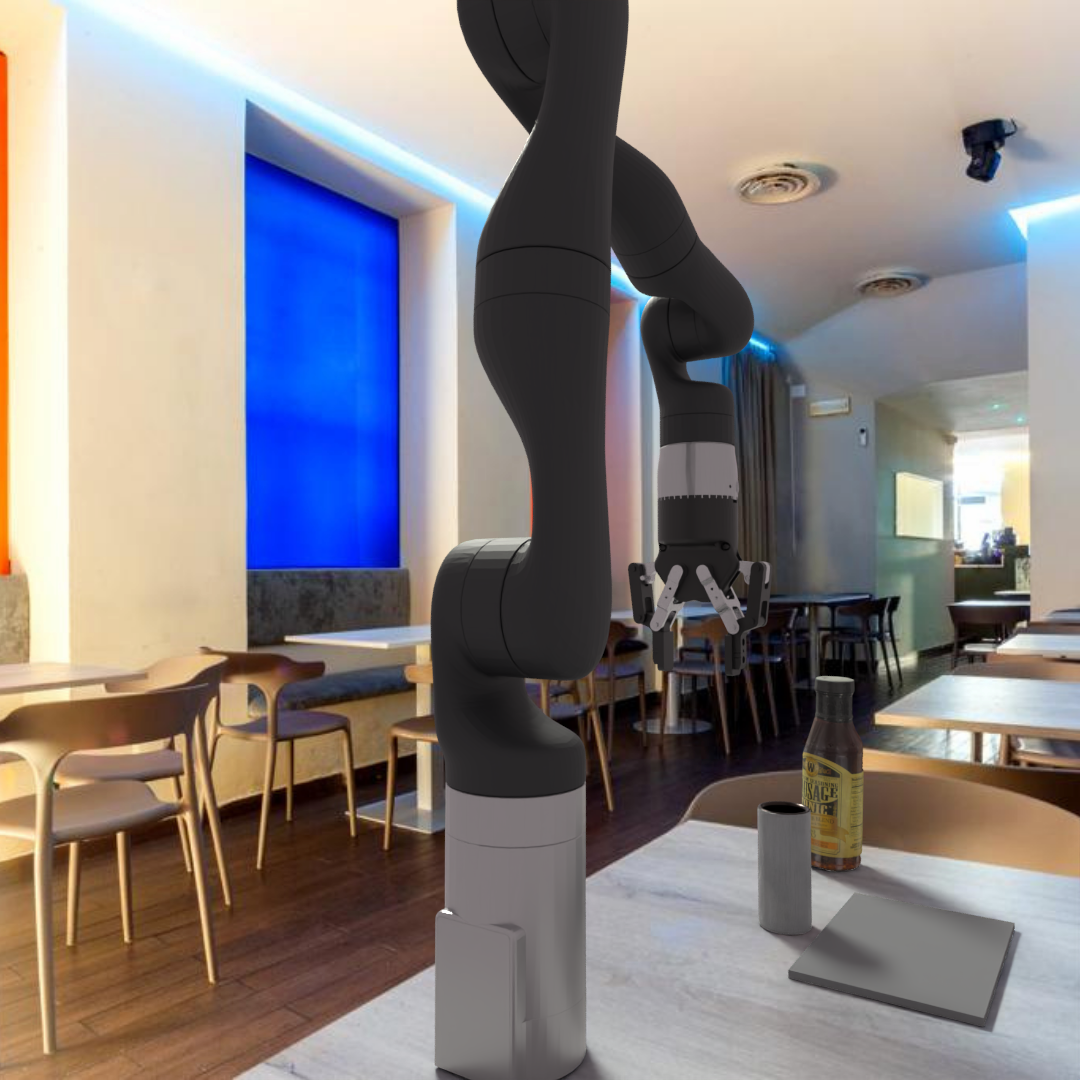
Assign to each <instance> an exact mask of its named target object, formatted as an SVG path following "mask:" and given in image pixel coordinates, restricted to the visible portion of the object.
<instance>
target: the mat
mask: <svg viewBox="0 0 1080 1080" xmlns="http://www.w3.org/2000/svg"><path fill="white" fill-rule="evenodd" d="M1014 929H1015V922H1013V921H1007V920H1002V919H996V918H991V917H986V916H980V915H975V914H970V913H964V912H960V911H954V910H949V909H944V908H940V907H939V908H938V907H934V906H929V905H923V904H918V903H912V902H907V901H903V900H896V899H892V898H891V899H890V898H887V897H880V896H875V895H870V894H865V893H860V892H854V893H852V895H851V896H850V897H849V898H848V900H847V901H846V902H845V903H844V904H843V905H842V907H840V909H838V911H837V913H835V915H834V916H833V917H832V918H831V919H830V921H828V923H827V924H826V925H825V926H824V928H822V930H821V931H820V933H818V934H817V936H816V937H814V939H813V940H812V941H811V943H810V944H809V945H808V946H807V947H806V949H805V950H804V951H803V952H802V953H801V954H800V956H799V957H798V958H796V960H795V961H794V963H792V965H791V966H790V967H789V968H788V969H787V973H788V975H787V977H788V978H789V979H791V980H794V981H795V980H796V981H800V982H803V983H807V984H811V985H815V986H820V987H823V988H828V989H830V990H831V989H832V990H835V991H838V992H842V993H847V994H851V995H856V996H859V997H863V998H867V999H870V1000H875V1001H879V1002H883V1003H886V1004H892V1005H895V1006H899V1007H903V1008H906V1009H911V1010H915V1011H919V1012H923V1013H926V1014H929V1015H930V1014H931V1015H934V1016H939V1017H943V1018H947V1019H951V1020H955V1021H959V1022H962V1023H965V1024H966V1023H967V1024H970V1025H975V1026H978V1027H982V1028H984V1027H985V1025H986V1022H987V1019H988V1015H989V1013H990V1009H991V1006H992V1003H993V999H994V998H995V997H994V996H995V993H996V989H997V986H998V984H999V981H1000V977H1001V974H1002V971H1003V968H1004V965H1005V961H1006V959H1007V956H1008V952H1009V949H1010V947H1011V943H1012V940H1013V937H1012V935H1013V936H1014V933H1015V930H1014ZM1013 932H1014V933H1013ZM1011 939H1012V940H1011ZM1010 942H1011V943H1010Z"/></svg>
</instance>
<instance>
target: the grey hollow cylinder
mask: <svg viewBox="0 0 1080 1080" xmlns="http://www.w3.org/2000/svg"><path fill="white" fill-rule="evenodd" d="M757 879H758V881H757V885H758V886H757V887H758V889H757V891H758V895H757V897H758V898H757V899H758V906H757V907H758V908H757V909H758V910H757V911H758V915H757V916H758V923H759V925H760V927H762V928H763V929H765V930H766V931H769V932H771V933H775V934H780V935H786V936H792V935H793V936H798V935H803V934H806V933H809V932H810V931H811V930H812V928H813V927H812V923H813V921H812V920H813V914H812V913H813V912H812V911H813V907H812V901H813V900H812V897H813V896H812V893H813V892H812V866H811V810H810V808H809V807H807V806H805V805H802V803H800V802H799V803H797V802H794V801H783V800H769V801H764V802H761V803H759V804H758V806H757Z"/></svg>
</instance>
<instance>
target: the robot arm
mask: <svg viewBox="0 0 1080 1080" xmlns="http://www.w3.org/2000/svg"><path fill="white" fill-rule="evenodd" d="M629 3H630V2H629V0H456V12H457V17H458V23H459V27H460V31H461V34H462V36H463V39H464V42H465V44H466V47H467V49H468V51H469V52H470V55H471V57H472V59H473V60H474V62H475V64H476V66H477V68H478V70H479V71H481V74H482V75H483V77H484V78H485V79H486V80H487V82H488V84H489V86H490V87H491V89H492V90H493V91H494V92H495V93H496V95H497V96H498V97H499V99H500V100H501V101H502V102H503V104H504V105H505V106H506V108H507V109H508V110H509V111H510V113H512V115H513V116H514V117H515V119H517V120H516V121H518V122H519V123H520V125H521V126H522V127H523V128H524V130H525V131H526V133H527V134H528V135H529V136H528V138H527V139H526V142H525V145H524V146H523V147H522V150H521V152H520V154H519V156H518V158H517V160H516V161H515V163H514V164H513V167H512V168H511V170H510V171H509V173H508V176H507V177H506V179H505V181H504V183H503V184H502V186H501V188H500V190H499V192H498V195H497V197H496V198H495V200H494V202H493V204H492V206H491V208H490V211H489V213H488V214H487V215H488V216H487V218H486V221H485V223H484V225H483V227H482V231H481V233H480V236H479V239H478V243H477V244H478V245H477V249H476V258H475V259H476V260H475V276H474V299H473V314H472V315H473V323H472V325H473V340H474V341H473V342H474V345H475V350H476V353H477V355H478V358H479V361H480V363H481V366H482V368H483V370H484V372H485V374H486V376H487V379H488V380H489V382H490V385H491V386H492V388H493V390H494V392H495V393H496V396H497V397H498V399H499V401H500V403H501V404H502V406H503V408H504V410H505V411H506V413H507V415H508V416H509V418H510V420H511V422H512V424H513V426H514V428H515V429H516V432H517V434H518V436H519V438H520V441H521V443H522V445H523V448H524V451H525V455H526V457H527V463H528V466H529V468H528V469H529V473H530V484H531V495H532V496H531V497H532V498H531V499H532V520H531V521H532V525H531V536H527V537H526V536H524V537H523V536H522V537H521V536H519V537H494V538H493V537H492V538H491V537H489V538H476V539H470V540H466V541H463V542H461V543H459V544H458V545H456V546H454V547H453V548H451V550H450V551H449V552H448V553H447V554H446V556H445V557H444V559H443V560H442V562H441V564H440V566H439V568H438V571H437V574H436V576H435V581H434V585H433V588H432V594H431V595H432V596H431V603H430V649H431V650H430V653H431V670H432V687H433V690H432V692H433V714H434V718H433V719H434V727H435V735H436V738H437V742H438V745H439V748H440V750H441V752H442V757H443V759H444V764H445V765H444V769H445V770H444V771H445V774H444V775H445V776H444V777H445V817H444V818H445V821H444V822H445V823H444V824H445V827H444V828H445V829H444V830H445V831H444V836H445V837H444V840H445V841H444V908H442V909H441V910H439V911H437V913H436V915H435V919H434V920H435V924H434V925H435V927H434V929H435V933H434V937H435V939H434V940H435V941H434V943H435V945H434V947H435V948H434V956H435V957H434V976H435V977H434V1066H435V1067H437V1068H440V1069H443V1070H445V1071H448V1072H449V1073H453V1074H454V1075H458V1076H460V1077H461V1078H465V1079H468V1080H560V1079H561V1078H563V1077H566V1076H567V1075H569V1074H570V1073H572V1072H573V1071H574V1070H575V1069H577V1068H578V1067H579V1066H581V1063H582V1062H583V1061H584V1059H585V1057H586V1052H587V889H586V887H587V886H586V885H587V883H586V882H587V880H586V878H587V875H586V874H587V868H586V867H587V866H586V865H587V862H586V861H587V859H586V857H587V853H586V852H587V850H586V848H587V847H586V844H587V843H586V841H587V839H586V838H587V837H586V836H587V835H586V833H587V832H586V828H587V825H586V823H587V816H586V815H587V814H586V813H587V810H586V806H587V800H586V799H587V797H586V794H587V793H586V792H587V791H586V790H587V789H586V788H587V786H586V785H587V782H586V781H587V756H586V755H587V754H586V753H587V752H586V748H585V745H584V742H583V740H582V739H581V737H580V736H579V735H577V733H575V732H574V731H572V730H571V729H569V728H567V727H565V726H563V725H562V724H560V723H559V722H557V721H555V720H553V719H552V718H551V717H549V716H548V715H547V714H545V712H543V711H542V710H541V709H540V708H539V706H537V705H536V703H535V702H534V700H532V698H531V697H530V696H529V694H528V691H527V688H526V682H525V679H531V680H535V679H536V680H545V681H546V680H548V681H560V682H561V681H563V682H564V681H567V682H568V681H578V680H582V679H584V678H586V677H587V676H588V675H590V674H591V673H592V672H593V671H594V670H595V669H596V667H597V666H598V664H599V662H600V661H601V659H602V657H603V654H604V652H605V649H606V645H607V643H608V640H609V636H610V635H609V633H610V627H611V619H612V611H613V608H612V607H613V605H612V604H613V580H612V578H613V577H612V556H611V555H612V554H611V539H610V523H609V522H610V521H609V517H610V516H609V504H608V503H609V501H608V500H609V499H608V488H607V487H608V484H607V466H606V465H607V464H606V463H607V461H606V413H607V412H606V411H607V410H606V409H607V408H606V407H607V403H606V402H607V399H606V398H607V375H608V374H607V371H608V370H607V369H608V353H609V351H608V350H609V349H608V348H609V338H610V337H609V336H610V325H611V323H610V321H611V295H612V294H611V292H612V291H611V288H612V282H611V281H612V252H613V254H614V255H615V257H616V259H617V261H618V263H619V264H620V266H621V268H622V270H623V271H624V273H625V275H626V277H627V278H628V280H629V281H630V283H631V284H632V287H633V288H635V290H637V291H638V293H641V294H643V295H646V296H648V297H650V298H649V299H648V301H647V302H646V304H645V306H644V308H643V310H642V312H641V313H642V314H641V317H640V327H639V329H640V337H641V341H642V345H643V349H644V351H645V355H646V357H647V361H648V364H649V367H650V371H651V375H652V379H653V384H654V387H655V392H656V397H657V401H658V407H659V408H658V409H659V456H658V457H659V458H658V463H657V464H658V465H657V473H656V474H657V477H656V478H657V543H658V554H657V556H656V558H655V559H654V560H655V561H650V562H631V563H630V564H629V565H628V566H627V573H628V582H629V592H630V598H631V599H630V600H631V608H632V617H633V621H634V622H635V623H636V624H638V625H643V626H645V627H647V628H649V629H650V631H651V633H652V639H651V640H652V643H651V644H652V649H651V650H652V661H653V663H654V665H656V667H657V670H658V671H659V672H661V671H662V672H668V671H672V670H673V669H674V666H675V664H674V663H675V658H674V657H675V655H674V654H675V653H674V652H675V651H674V648H675V647H674V645H675V644H674V639H675V638H674V630H671V629H672V627H673V624H674V623H675V620H676V617H677V616H678V613H679V612H680V611H682V609H683V607H684V605H685V604H686V603H691V602H692V603H693V602H700V603H711V604H712V606H713V609H714V610H715V611H716V613H718V615H719V616H720V618H721V620H722V623H723V624H724V626H725V628H726V631H727V634H724V673H725V675H726V676H731V677H733V676H734V677H735V676H739V675H740V674H741V670H742V669H745V667H746V665H747V635H748V634H749V632H750V631H751V630H755V629H757V628H762V627H765V626H766V625H767V623H768V618H769V609H770V607H769V606H770V599H771V589H772V588H771V587H772V582H773V581H772V579H773V571H774V570H773V569H774V568H773V565H772V563H770V562H767V561H754V562H753V561H746V560H743V559H742V557H741V555H740V553H739V491H740V482H739V480H738V479H739V478H738V477H739V476H738V475H739V474H738V473H739V472H738V471H739V470H738V464H737V457H736V447H735V445H736V443H735V437H736V436H735V399H734V394H733V392H732V390H731V389H730V388H729V387H728V386H726V385H725V384H721V383H718V382H714V381H713V382H712V381H705V380H694V379H691V377H690V375H689V373H688V368H687V363H688V362H689V363H692V362H697V361H703V360H705V361H706V360H709V359H718V358H719V359H720V358H725V357H730V356H734V355H736V354H738V353H740V352H741V351H742V350H744V349H745V348H746V347H747V345H748V344H749V342H750V341H751V340H752V339H751V338H752V336H753V332H754V328H755V313H754V309H753V308H754V307H753V305H752V302H751V299H750V297H749V295H748V293H747V292H746V290H745V288H744V286H743V285H742V284H741V282H740V281H739V279H737V278H736V277H735V276H734V274H733V273H732V272H731V271H730V270H729V269H728V268H727V267H726V266H725V264H723V263H722V261H720V260H719V258H717V256H716V255H715V254H714V253H713V251H711V250H710V248H709V247H708V246H707V245H705V244H704V243H703V241H702V240H701V238H700V236H699V234H698V232H697V230H696V228H695V226H694V223H693V221H692V219H691V217H690V215H689V212H688V211H687V208H686V206H685V203H684V202H683V200H682V198H681V195H680V193H679V192H678V189H677V188H676V187H675V186H676V185H674V183H673V181H672V180H671V179H670V177H669V176H668V175H667V174H666V173H665V172H664V171H663V169H661V168H660V167H659V166H658V165H657V164H656V163H655V162H654V161H653V160H651V159H650V158H649V157H648V156H647V155H645V154H644V153H643V152H641V151H640V150H638V149H637V148H636V147H634V146H633V145H631V144H630V143H629V142H627V141H626V140H624V139H622V138H621V137H619V136H618V135H617V131H618V130H617V127H618V121H619V113H620V112H619V111H620V104H621V95H622V89H623V81H624V75H625V74H624V73H625V65H626V56H627V48H628V35H629V21H630V19H629V18H630V9H629V8H630V7H629ZM740 574H742V575H743V579H744V582H745V583H746V584H747V585H748V591H747V600H746V602H747V603H746V608H745V609H746V610H745V611H746V612H745V615H744V613H743V611H742V609H741V603H740V601H739V599H738V596H737V594H736V592H735V590H734V588H733V585H734V584H735V581H736V580H737V579H738V577H739V576H740ZM656 575H657V576H659V579H660V580H661V581H662V583H663V585H664V587H663V589H662V591H661V594H660V595H659V598H658V600H657V602H656V606H657V607H656V609H655V601H654V593H653V592H654V590H653V584H654V582H655V580H656Z"/></svg>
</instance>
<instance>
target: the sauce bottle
mask: <svg viewBox="0 0 1080 1080" xmlns="http://www.w3.org/2000/svg"><path fill="white" fill-rule="evenodd" d="M813 688H814V691H815V693H816V696H815V713H814V714H815V715H814V718H813V722H812V724H811V728H810V731H809V733H808V736H807V739H806V742H805V745H804V747H803V751H802V766H801V767H802V768H801V769H802V778H801V804H802V805H805V806H807V807H809V808H810V810H811V867H813V868H818V869H821V870H825V871H827V872H847V871H852V870H855V869H857V868H860V867H859V866H861V862H862V856H861V855H862V852H863V832H864V831H863V828H864V827H863V825H864V823H863V822H864V821H863V819H864V818H863V816H864V814H863V812H864V810H863V809H864V773H865V771H864V768H863V767H864V766H863V765H864V760H863V757H864V746H863V744H864V743H863V741H862V739H861V737H860V735H859V734H858V732H857V730H856V727H855V724H854V721H853V718H854V715H853V695H854V693H855V689H856V688H855V679H852V678H850V677H846V676H845V677H844V676H834V675H833V676H832V675H831V676H830V675H829V676H828V675H822V676H821V675H820V676H817V677H815V679H814V687H813Z"/></svg>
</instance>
